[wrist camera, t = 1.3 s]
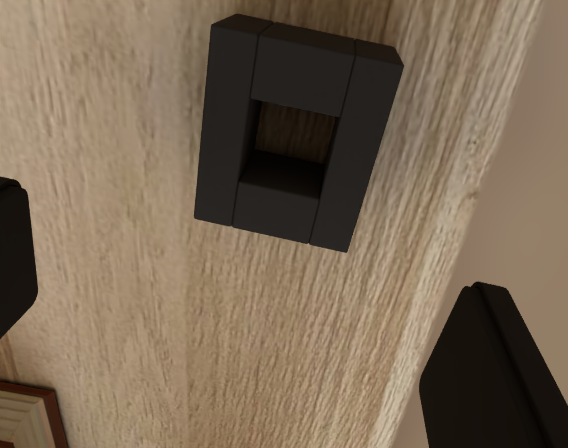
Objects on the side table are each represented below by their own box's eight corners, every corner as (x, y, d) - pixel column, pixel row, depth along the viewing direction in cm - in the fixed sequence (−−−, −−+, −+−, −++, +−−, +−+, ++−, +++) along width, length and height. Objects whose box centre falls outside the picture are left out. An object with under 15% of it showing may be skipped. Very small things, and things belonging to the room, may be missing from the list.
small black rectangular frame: (215, 182, 20) (192, 219, 17) (234, 12, 17) (210, 23, 14) (347, 211, 20) (347, 253, 17) (395, 47, 17) (404, 65, 14)
